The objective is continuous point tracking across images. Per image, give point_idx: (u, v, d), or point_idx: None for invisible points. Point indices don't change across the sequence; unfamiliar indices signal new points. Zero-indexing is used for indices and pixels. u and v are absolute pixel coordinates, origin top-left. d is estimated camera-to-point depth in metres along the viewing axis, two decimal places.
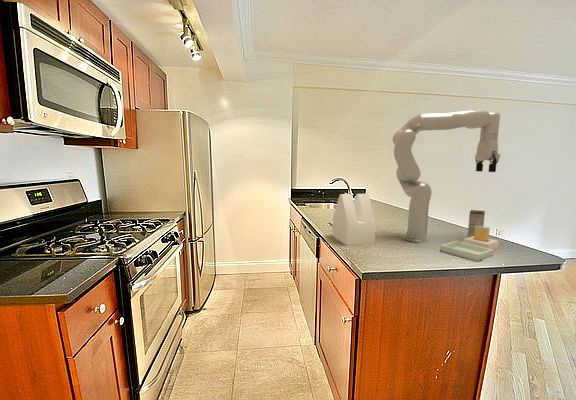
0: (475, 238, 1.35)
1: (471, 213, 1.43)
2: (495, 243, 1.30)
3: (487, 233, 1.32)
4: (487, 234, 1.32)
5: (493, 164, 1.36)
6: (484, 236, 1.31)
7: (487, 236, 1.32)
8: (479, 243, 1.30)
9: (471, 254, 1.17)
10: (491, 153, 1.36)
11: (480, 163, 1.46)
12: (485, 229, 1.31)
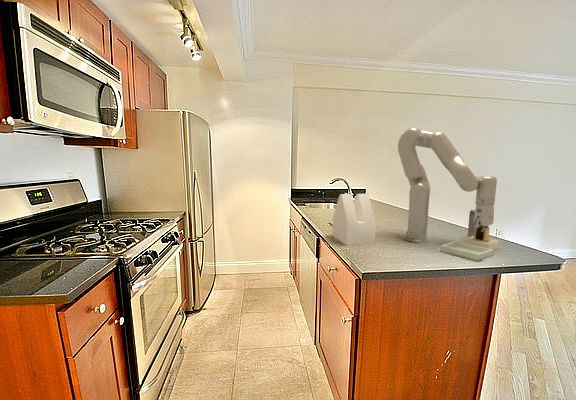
0: (475, 238, 1.35)
1: (471, 213, 1.43)
2: (495, 243, 1.30)
3: (487, 233, 1.32)
4: (487, 234, 1.32)
5: None
6: (484, 236, 1.31)
7: (487, 236, 1.32)
8: (479, 243, 1.30)
9: (471, 254, 1.17)
10: None
11: None
12: (485, 229, 1.31)
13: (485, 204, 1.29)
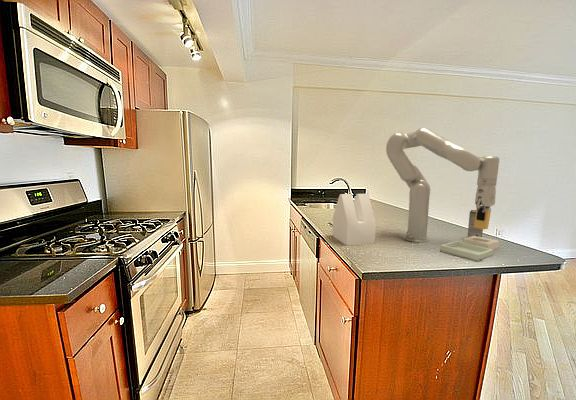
0: (476, 219, 1.34)
1: (471, 213, 1.43)
2: (495, 243, 1.30)
3: (489, 214, 1.31)
4: (488, 215, 1.31)
5: None
6: (485, 217, 1.30)
7: (488, 217, 1.31)
8: (479, 243, 1.30)
9: (471, 254, 1.17)
10: None
11: None
12: (487, 210, 1.30)
13: (487, 184, 1.27)
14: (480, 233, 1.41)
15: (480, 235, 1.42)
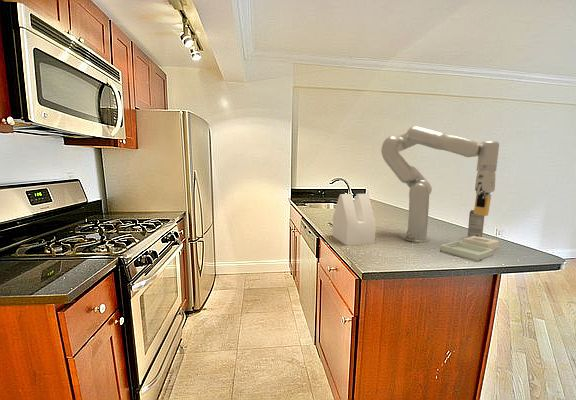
0: (476, 206, 1.32)
1: (471, 213, 1.43)
2: (495, 243, 1.30)
3: (489, 200, 1.28)
4: (488, 201, 1.28)
5: None
6: (486, 203, 1.28)
7: (488, 203, 1.28)
8: (479, 243, 1.30)
9: (471, 254, 1.17)
10: None
11: None
12: (487, 196, 1.27)
13: (487, 169, 1.25)
14: (480, 233, 1.41)
15: (480, 235, 1.42)
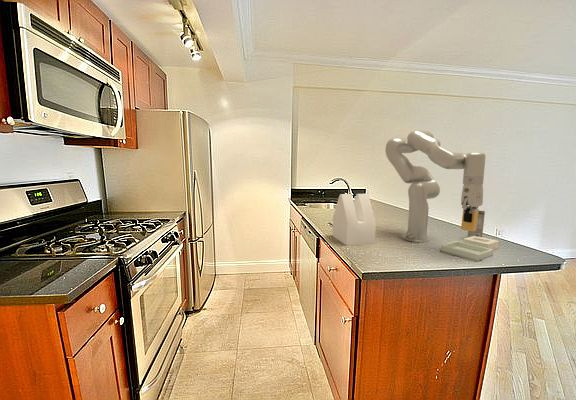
0: None
1: None
2: (495, 243, 1.30)
3: (476, 215, 1.21)
4: (476, 216, 1.21)
5: None
6: (473, 218, 1.21)
7: (475, 218, 1.21)
8: (479, 243, 1.30)
9: (471, 254, 1.17)
10: None
11: None
12: (474, 210, 1.20)
13: (473, 183, 1.18)
14: (480, 233, 1.41)
15: (480, 235, 1.42)
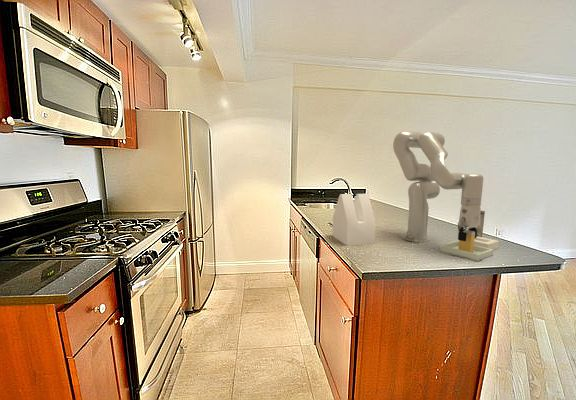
0: (460, 243, 1.26)
1: None
2: (495, 243, 1.30)
3: (473, 237, 1.23)
4: (472, 238, 1.23)
5: None
6: (469, 241, 1.22)
7: (472, 240, 1.23)
8: (479, 243, 1.30)
9: (471, 254, 1.17)
10: None
11: None
12: (470, 233, 1.22)
13: (471, 204, 1.19)
14: (480, 233, 1.41)
15: (480, 235, 1.42)
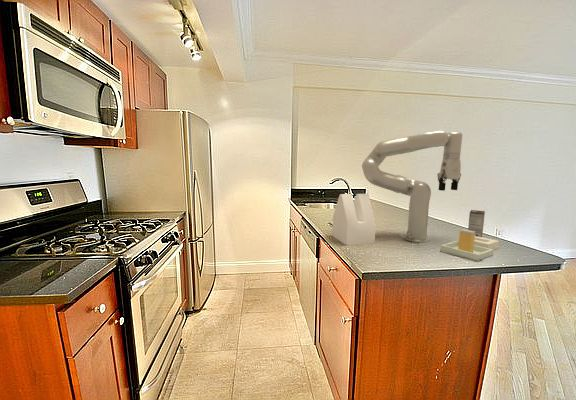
0: (460, 243, 1.26)
1: (471, 213, 1.43)
2: (495, 243, 1.30)
3: (473, 237, 1.23)
4: (472, 238, 1.23)
5: None
6: (469, 241, 1.22)
7: (472, 240, 1.23)
8: (479, 243, 1.30)
9: (471, 254, 1.17)
10: None
11: None
12: (470, 233, 1.22)
13: (450, 158, 1.37)
14: (480, 233, 1.41)
15: (480, 235, 1.42)
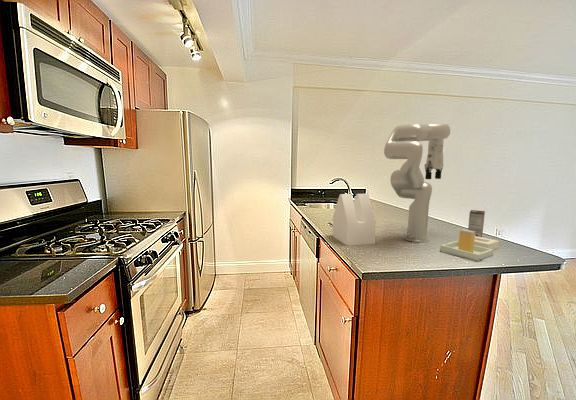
0: (460, 243, 1.26)
1: (471, 213, 1.43)
2: (495, 243, 1.30)
3: (473, 237, 1.23)
4: (472, 238, 1.23)
5: None
6: (469, 241, 1.22)
7: (472, 240, 1.23)
8: (479, 243, 1.30)
9: (471, 254, 1.17)
10: None
11: None
12: (470, 233, 1.22)
13: (434, 150, 1.53)
14: (480, 233, 1.41)
15: (480, 235, 1.42)
